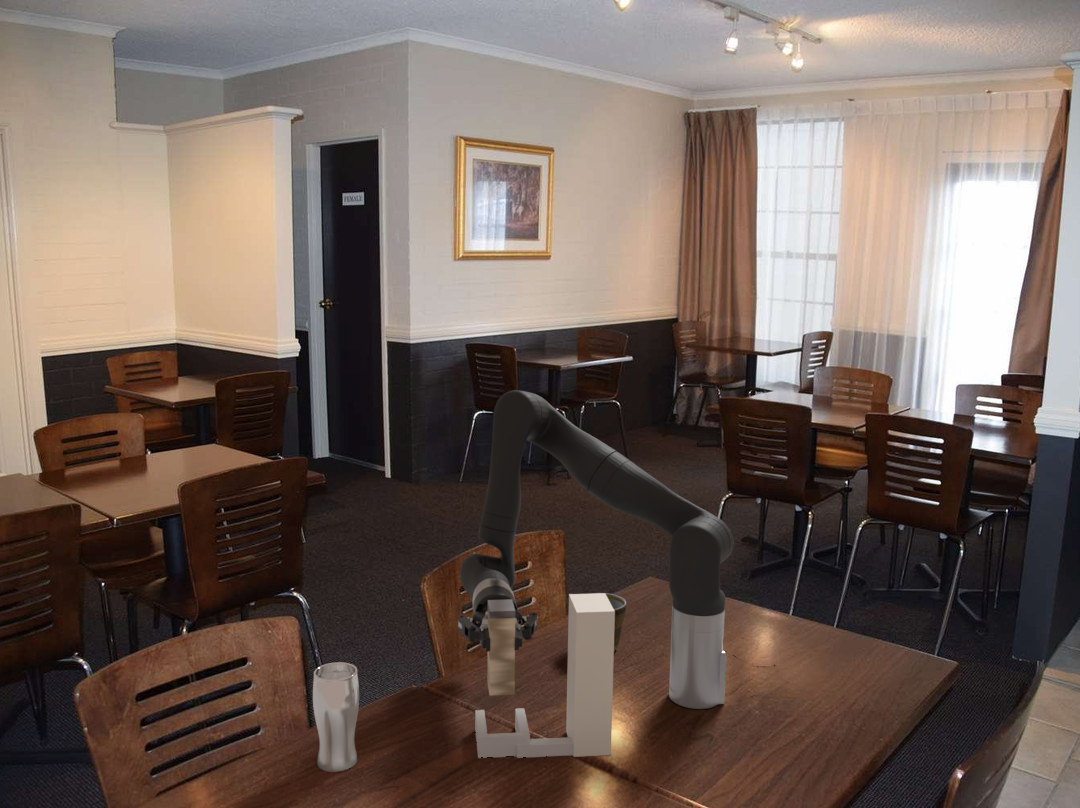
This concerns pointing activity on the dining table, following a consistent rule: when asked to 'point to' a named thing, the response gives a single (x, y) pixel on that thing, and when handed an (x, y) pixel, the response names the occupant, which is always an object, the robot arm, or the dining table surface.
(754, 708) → the dining table surface
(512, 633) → the rail end
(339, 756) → the beer glass
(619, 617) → the ceramic cup
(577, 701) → the white socket stand
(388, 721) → the dining table surface
